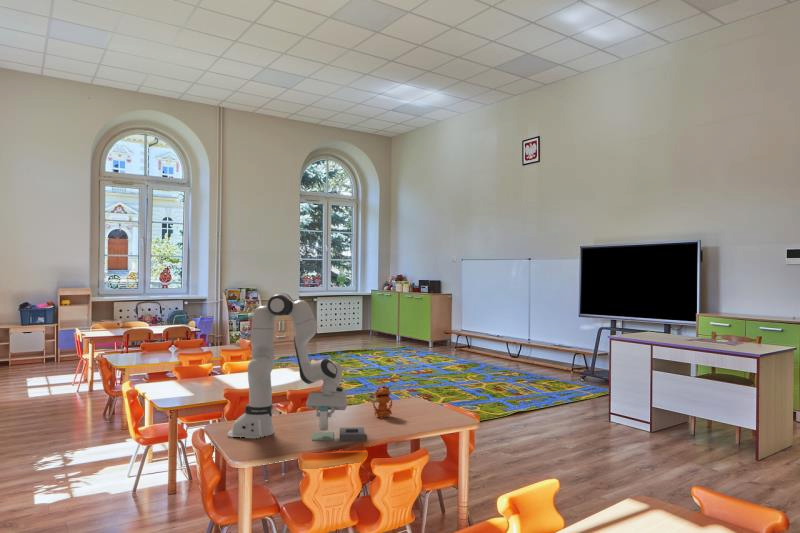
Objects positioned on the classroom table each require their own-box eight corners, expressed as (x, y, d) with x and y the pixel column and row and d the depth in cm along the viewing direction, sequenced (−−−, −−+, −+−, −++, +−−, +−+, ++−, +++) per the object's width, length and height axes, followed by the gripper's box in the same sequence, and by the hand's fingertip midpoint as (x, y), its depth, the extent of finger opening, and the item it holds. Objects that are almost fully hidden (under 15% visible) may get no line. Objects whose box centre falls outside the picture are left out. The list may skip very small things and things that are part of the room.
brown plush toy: (375, 419, 304) (375, 387, 304) (371, 415, 314) (371, 383, 314) (394, 418, 307) (395, 386, 307) (389, 414, 317) (390, 383, 317)
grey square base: (339, 442, 260) (339, 434, 260) (339, 435, 272) (339, 427, 272) (364, 442, 261) (364, 434, 261) (363, 435, 273) (363, 427, 273)
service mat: (311, 442, 260) (312, 439, 260) (313, 435, 272) (313, 432, 272) (333, 442, 261) (333, 439, 261) (333, 435, 273) (333, 432, 273)
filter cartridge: (318, 430, 264) (319, 408, 264) (319, 428, 268) (319, 405, 269) (328, 430, 265) (328, 407, 265) (328, 428, 269) (328, 405, 269)
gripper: (308, 387, 275) (301, 411, 266) (347, 389, 272) (342, 413, 262) (311, 394, 280) (304, 418, 270) (349, 396, 276) (344, 420, 267)
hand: (323, 416), depth 266 cm, fingers closed on filter cartridge, 4 cm apart
